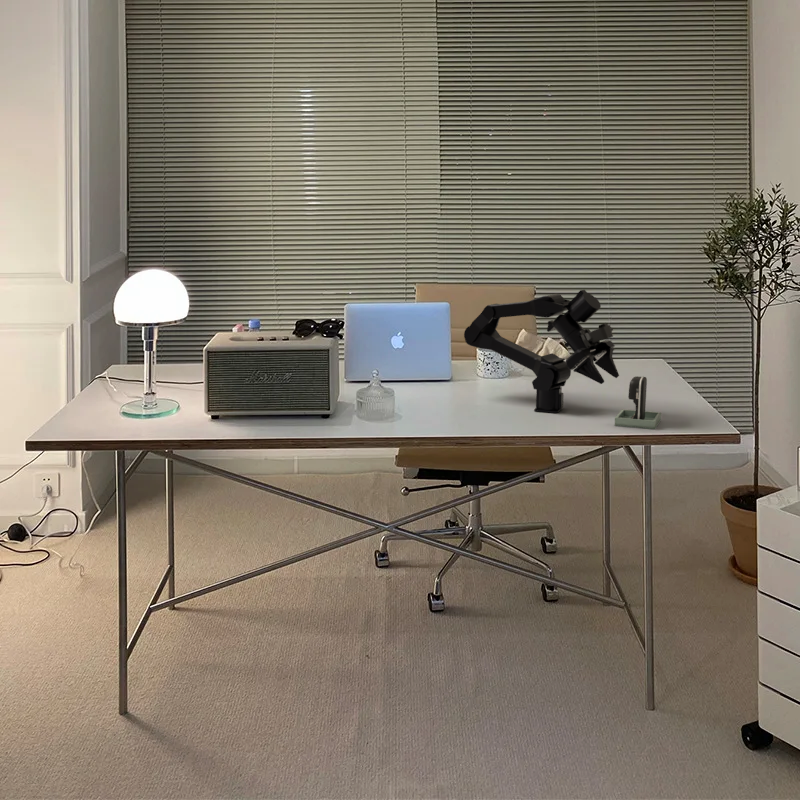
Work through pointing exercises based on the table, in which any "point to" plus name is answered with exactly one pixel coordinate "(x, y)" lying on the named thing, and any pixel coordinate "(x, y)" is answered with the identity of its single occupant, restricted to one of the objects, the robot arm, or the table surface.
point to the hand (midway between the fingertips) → (610, 379)
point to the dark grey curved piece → (638, 396)
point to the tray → (626, 421)
